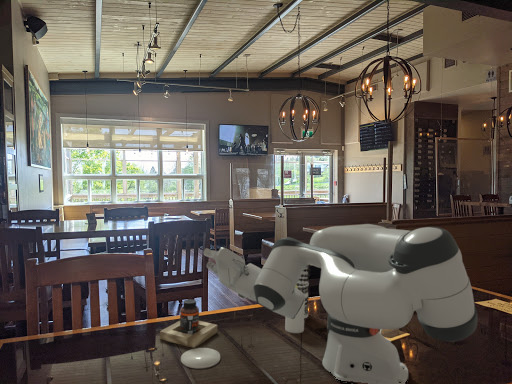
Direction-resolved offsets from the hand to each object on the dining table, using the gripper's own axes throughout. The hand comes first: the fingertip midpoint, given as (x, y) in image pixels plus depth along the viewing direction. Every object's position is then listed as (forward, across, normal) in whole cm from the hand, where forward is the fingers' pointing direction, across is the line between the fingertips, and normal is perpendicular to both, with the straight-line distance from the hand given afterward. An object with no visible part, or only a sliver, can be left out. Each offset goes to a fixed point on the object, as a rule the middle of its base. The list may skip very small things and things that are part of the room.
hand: (206, 257), depth 113 cm
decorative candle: (-29, +42, +10) cm, 52 cm away
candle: (-31, +31, +2) cm, 43 cm away
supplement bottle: (-2, +26, -18) cm, 31 cm away
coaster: (-11, +13, -22) cm, 28 cm away
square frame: (-2, +26, -17) cm, 31 cm away
